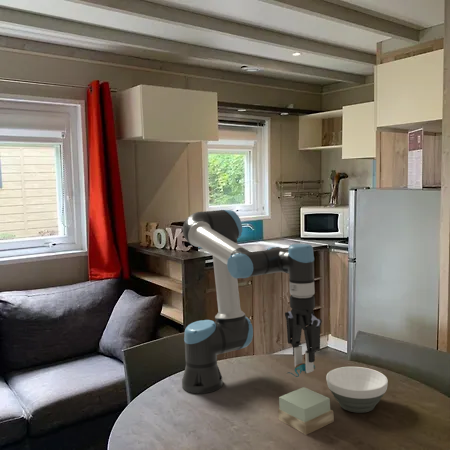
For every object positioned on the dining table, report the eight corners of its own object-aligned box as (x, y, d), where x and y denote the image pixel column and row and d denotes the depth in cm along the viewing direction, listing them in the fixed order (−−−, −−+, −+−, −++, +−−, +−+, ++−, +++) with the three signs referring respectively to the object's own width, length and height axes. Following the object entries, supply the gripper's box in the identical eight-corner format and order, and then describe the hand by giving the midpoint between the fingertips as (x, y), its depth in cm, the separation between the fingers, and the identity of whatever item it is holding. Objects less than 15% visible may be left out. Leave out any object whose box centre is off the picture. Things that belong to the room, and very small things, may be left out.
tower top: (279, 409, 152) (279, 397, 151) (304, 398, 158) (303, 387, 158) (305, 422, 143) (304, 409, 142) (330, 410, 149) (329, 398, 149)
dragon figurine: (312, 377, 142) (319, 358, 148) (288, 366, 144) (296, 348, 150) (306, 390, 146) (313, 372, 152) (283, 380, 148) (291, 361, 154)
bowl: (391, 397, 164) (391, 370, 163) (384, 424, 146) (383, 394, 146) (333, 389, 172) (333, 363, 172) (320, 414, 155) (319, 385, 154)
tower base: (278, 421, 152) (278, 409, 152) (305, 409, 159) (305, 397, 159) (306, 436, 143) (305, 423, 142) (333, 423, 150) (333, 410, 149)
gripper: (273, 292, 152) (276, 364, 154) (314, 302, 138) (316, 381, 140) (291, 288, 156) (293, 358, 158) (332, 297, 143) (333, 374, 145)
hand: (304, 369), depth 149 cm, fingers closed on dragon figurine, 4 cm apart
